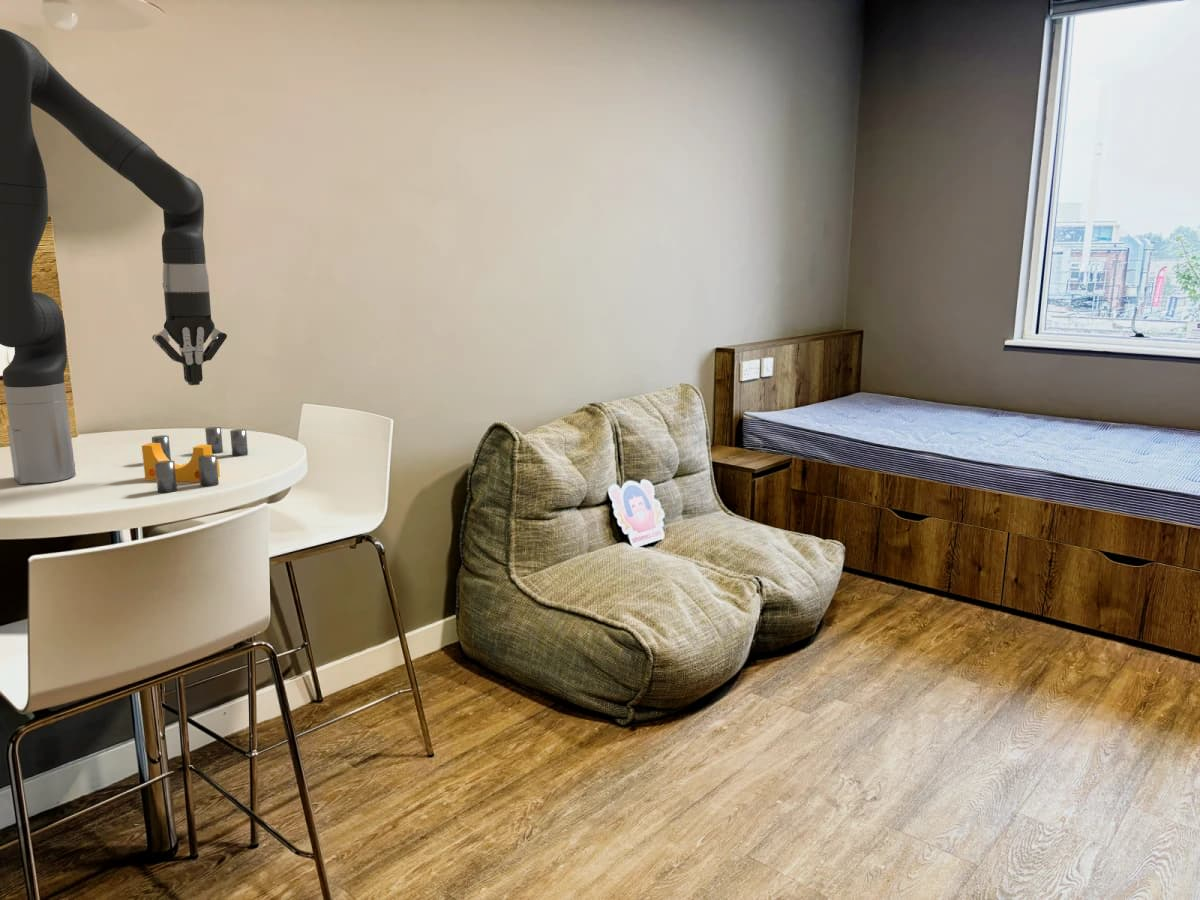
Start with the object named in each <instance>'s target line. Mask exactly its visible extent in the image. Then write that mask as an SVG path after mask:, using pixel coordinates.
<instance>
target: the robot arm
mask: <svg viewBox="0 0 1200 900" xmlns="http://www.w3.org/2000/svg"><path fill="white" fill-rule="evenodd" d="M32 105H33V106H35V107H37V108H39V109H40V110H41V111H43V112H45V113H46V114H48V115H49V116H51V117H52V118H53V119H54V120H56V121H57V123H58V122H59V124H60V125H62V126H63V127H64V128H66V129H67V131H68V132H70V133H71V134H72V135H73V136H74V137H75V138H76V140H78V141H80V142H81V144H82V145H83V146H84V147H85V148H87V149H88V150H89V151H90V152H91V153H92V154H94V155H95V156H96V157H97V158H98V159H99V160H100V161H102V162H103V163H105V164H106V165H107V166H109V167H110V168H111V169H112V170H113V171H115V172H116V173H117V174H119V175H120V176H122V178H124V179H126V180H127V181H129V182H131V183H132V184H133V185H134V186H135V187H136V188H138V189H139V190H140V191H141V193H143V195H145V196H146V197H147V198H148V199H150V200H151V201H152V202H154V204H156V205H157V206H158V207H159V208H160V209H161V210H162V211H163V225H164V226H163V227H164V230H163V233H162V235H161V252H162V253H161V254H162V266H163V267H162V289H163V297H164V309H165V310H164V311H165V317H166V318H165V321H164V324H163V329H162V330H161V331H159V333H156V334H153V335H152V337H151V338H152V339H151V340H153V342H155V343H156V344H157V346H159V348H160V349H161V350H162V351H163V352H164V353H165V354H166V355H167V356H168V358H170V359H171V360H172V361H174V362H177V363H180V364H182V368H183V378H184V381H185V382H186V383H187V385H189V386H197V385H198V386H199V385H200V383H201V382H202V381H203V378H204V377H203V376H204V375H203V364H204V363H205V362H208V361H211V360H212V359H213V358H214V356H215V355H216V354H217V353H218V351H219V349H220V347H221V346H222V345H223V344H224V342H225V341H226V340H227V338H228V334H227V333H226V332H222V331H220V330H219V329H218V328H216V327H215V323H214V321H213V319H212V310H211V295H210V294H211V293H210V284H209V283H210V281H209V275H208V269H207V263H206V262H207V261H206V252H205V251H206V250H205V240H204V222H205V220H204V219H205V204H204V195H203V192H202V189H201V187H200V186H199V184H198V183H197V182H196V181H194V180H193V179H192V178H189V177H187V176H186V175H185V174H184V173H182V172H180V171H179V170H178V169H176V168H175V167H173V165H171V164H170V163H168V162H166V160H164V159H163V158H162V157H160V156H159V155H158V153H156V152H155V151H154V149H153V148H152V147H151V146H150V145H148V144H147V143H146V142H145V141H143V140H142V139H141V138H140V137H138V136H137V135H136V134H135V133H133V132H132V131H131V130H129V128H127V127H126V126H124V125H123V124H122V123H120V122H119V121H118V120H116V119H115V118H113V117H112V116H111V115H109V114H108V113H107V112H105V111H104V110H103V109H101V108H100V107H98V106H97V105H96V104H94V103H93V102H92V101H90V99H88V98H87V97H85V96H84V95H83V94H82V93H81V92H80V91H79V90H78V89H77V88H75V87H74V86H73V85H72V84H71V82H69V81H67V79H66V78H65V77H64V76H63V75H62V74H61V73H60V72H59V71H58V70H57V69H56V68H55V66H53V65H52V64H51V63H50V62H49V60H47V58H46V57H45V56H44V55H43V54H42V53H41V52H40V50H39V48H37V46H35V45H34V44H33V43H31V41H28V40H27V39H25V38H23V37H22V36H19V35H18V34H17V33H15V32H12V31H9V30H8V29H4V28H0V345H2V346H4V347H5V348H6V347H7V348H14V355H13V357H12V360H11V362H10V363H9V364H8V365H7V366H6V367H5V368H4V369H3V371H2V381H3V382H2V383H3V388H4V389H3V390H4V394H5V395H4V397H5V403H6V411H7V417H8V425H9V426H8V427H7V434H8V441H9V447H10V448H9V450H10V455H11V464H12V469H13V470H12V471H13V478H14V479H15V481H17V483H18V484H19V485H25V484H41V483H43V484H44V483H52V482H58V481H59V482H60V481H63V480H67V479H70V478H73V477H75V476H76V475H77V474H76V463H75V458H74V457H75V456H74V450H73V449H74V448H73V441H72V432H71V423H70V415H69V408H68V399H67V390H66V383H65V370H66V368H67V363H68V355H67V353H68V352H67V350H68V349H67V337H66V327H65V326H66V325H65V320H64V319H65V318H64V315H63V313H62V310H61V308H60V306H59V305H58V303H57V302H56V300H54V298H52V297H51V296H49V295H48V294H46V293H41V292H37V291H36V292H35V291H33V277H32V274H33V273H32V272H33V263H34V258H35V255H36V253H37V251H38V248H39V245H40V243H41V241H42V237H43V235H44V232H45V229H46V226H47V223H48V219H49V201H48V199H49V198H48V183H47V175H46V170H45V166H44V162H43V159H42V156H41V152H40V149H39V146H38V144H37V140H36V137H35V136H36V135H35V133H34V129H33V122H32ZM170 338H171V339H172V340H173V341H174V342H175V344H177V345H178V349H179V352H180V353H179V352H178V351H177V350H176V349H175V348H174V347H173V346H172V345H171V344H170V343H169V342H170ZM209 338H210V339H211V340H210V342H209V344H208V345H207V347H206V348H205V349H204V344H205V343H206V342H207V340H208V339H209Z"/></svg>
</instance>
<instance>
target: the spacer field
mask: <svg viewBox="0 0 1200 900" xmlns="http://www.w3.org/2000/svg"><path fill="white" fill-rule="evenodd" d="M204 430H205V441H206V445H211V446H212V455H204V456H199V457H198V465H199V476H200V482H199V485H200V486H201V487H215V486H218V485H219V484H220V483H219V477H218V469H217V460H218V457H217V455H216V454H220V453H223V452H224V450H223V449H224V447H223V434H222V433H223V432H222V427H221V426H210V427H206V428H205V429H204ZM229 432H230V444H231V453H232V454H231V455H232V456H233V457H243V456H244V455H245V456H247V455H249V449H248V437H247V429H244V428H242V429H241V428H239V429H231V430H230V431H229ZM151 443H161V447H162V450H163V452H164V454H165V456H166V457H167V458H168V459H169V460H170V461H159V462H156V463H155V469H156V479H157V480H156V485H157V486H156V487H157V493H160V494H168V493H170V494H171V493H173V492H177V490H178V487H177V486H178V485H177V481H176V474H175V464H176V463H175V460H172V456H171V447H170V437H169V435H153V436H151ZM214 454H215V455H214ZM245 456H244V457H245Z"/></svg>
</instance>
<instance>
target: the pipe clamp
mask: <svg viewBox="0 0 1200 900" xmlns="http://www.w3.org/2000/svg"><path fill="white" fill-rule="evenodd" d="M141 450H142V451H141V453H142V461H143V469H144V470H143V472H144V479H150V480H149V481H157V479H156V469H155V463H156V462H159V461H170V460H169V459H168V458H167V457H166V456H165V454H164V452H163V450H162V447H161V443H152V442H149V443H146V444H143V445H141ZM204 455H213V453H212V446H211V445H207V444H200V445H199V444H198V445H197V446H194V447H192V454H191V459H190V460H189V462H188V463H184V464H182V465H181V464H177V463H175V474H176V482H189V483H192V482H193V483H200V476H199V465H198V457H199V456H204ZM217 469H218V478H221V474H220V472H221V471H220V462H219V460H218V459H217ZM151 479H152V480H151Z"/></svg>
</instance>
